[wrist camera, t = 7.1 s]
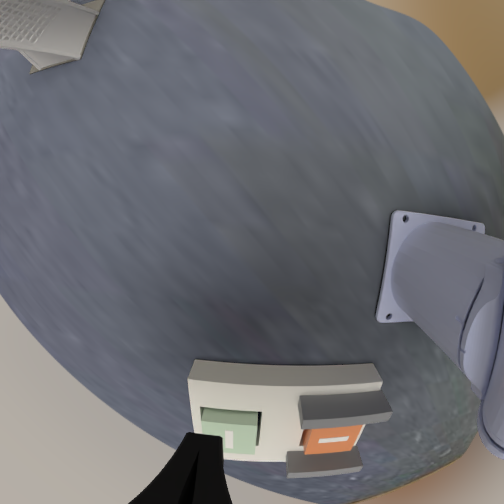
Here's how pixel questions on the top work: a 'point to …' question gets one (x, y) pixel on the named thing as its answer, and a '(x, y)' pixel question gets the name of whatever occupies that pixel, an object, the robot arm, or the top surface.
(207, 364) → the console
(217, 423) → the on button
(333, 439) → the button
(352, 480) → the top surface
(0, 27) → the skyscraper
